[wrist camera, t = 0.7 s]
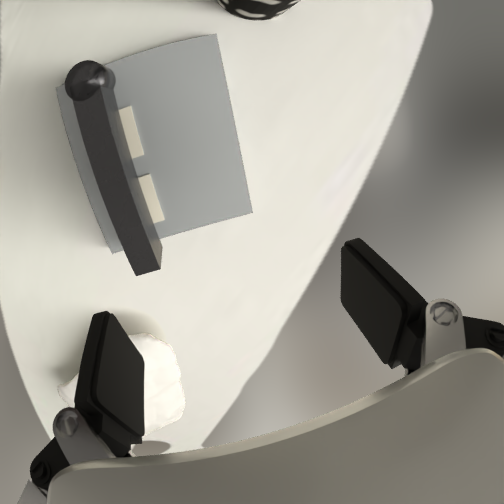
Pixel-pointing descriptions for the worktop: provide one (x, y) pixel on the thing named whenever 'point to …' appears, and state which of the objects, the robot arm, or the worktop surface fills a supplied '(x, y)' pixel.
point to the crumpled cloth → (150, 383)
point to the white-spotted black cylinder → (257, 8)
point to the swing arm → (113, 163)
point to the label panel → (172, 138)
